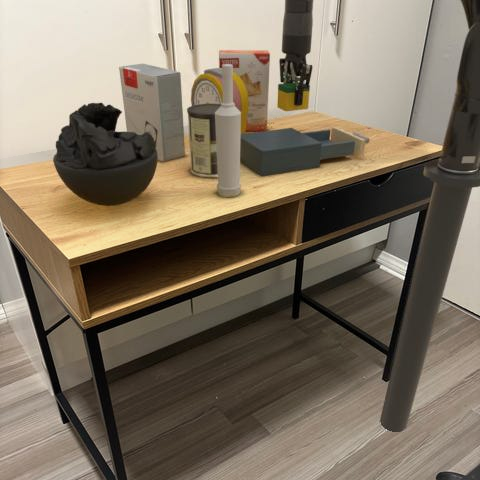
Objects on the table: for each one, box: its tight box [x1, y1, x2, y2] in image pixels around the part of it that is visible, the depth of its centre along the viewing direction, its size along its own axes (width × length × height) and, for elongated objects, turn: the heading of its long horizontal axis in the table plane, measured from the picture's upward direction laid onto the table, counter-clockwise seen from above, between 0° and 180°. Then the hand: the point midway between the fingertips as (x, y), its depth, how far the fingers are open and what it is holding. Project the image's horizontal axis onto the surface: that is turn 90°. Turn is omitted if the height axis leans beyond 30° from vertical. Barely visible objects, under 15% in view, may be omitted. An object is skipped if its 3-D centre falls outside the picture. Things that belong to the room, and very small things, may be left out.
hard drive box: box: [118, 63, 186, 163], centre depth 127 cm, size 16×8×20 cm, turn 44°
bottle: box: [215, 64, 242, 198], centre depth 102 cm, size 5×5×25 cm
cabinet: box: [240, 127, 322, 177], centre depth 125 cm, size 16×15×6 cm
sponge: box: [276, 81, 311, 112], centre depth 138 cm, size 7×5×6 cm
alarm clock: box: [190, 67, 249, 134], centre depth 136 cm, size 15×8×18 cm, turn 42°
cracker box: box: [218, 49, 271, 132], centre depth 145 cm, size 14×6×21 cm, turn 92°
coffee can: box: [186, 104, 221, 178], centre depth 117 cm, size 10×10×14 cm
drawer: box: [302, 126, 371, 161], centre depth 130 cm, size 19×14×4 cm
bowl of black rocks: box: [52, 102, 158, 207], centre depth 100 cm, size 20×20×19 cm
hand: (293, 102), depth 139 cm, fingers closed on sponge, 5 cm apart
